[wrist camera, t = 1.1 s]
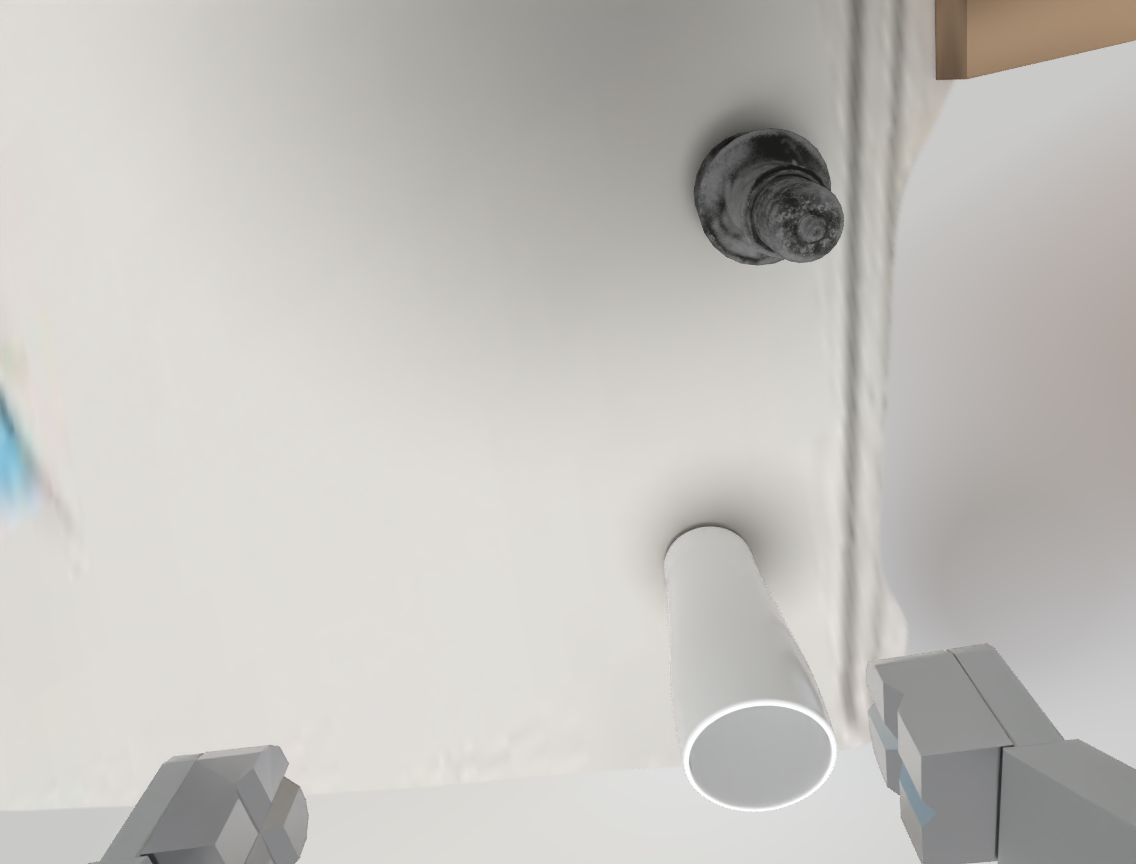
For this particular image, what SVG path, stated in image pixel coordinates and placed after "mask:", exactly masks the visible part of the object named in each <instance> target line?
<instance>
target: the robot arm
mask: <svg viewBox="0 0 1136 864" xmlns="http://www.w3.org/2000/svg"><path fill="white" fill-rule="evenodd" d="M866 685H867V687H868V689H869V691H870V694H871V696H872V698H873V700H874V702H875V703H874V704H873V705H872V706H871V708H870V709H869V710H868V718H869V730H870V735H871V740H872V745H873V749H874V753H875V756H876V759H877V762H878V765H879V768H880V770H881V773H882V775H883V778H884V780H885V782H886V785H887V787H888V788H890V789H891V790H893V791H894V792H896V793H897V794H898V795H900V806H901V807H900V808H901V819H902V821H903V823H904V826H905V828H906V830H907V832H908V835H909V837H910V839H911V841H912V843H913V846H914V848H915V850H916V852H917V855H918V857H919V859H920V861H921V863H922V864H966V863H979V862H991V861H998V864H1136V769H1134V768H1132V767H1130V766H1128V765H1126V764H1124V763H1123V762H1121V761H1119V760H1117V759H1115V758H1113V757H1111V756H1109V755H1107V754H1106V753H1104V752H1102V751H1100V750H1098V749H1096V748H1094V747H1092V746H1090V745H1088V744H1087V743H1085V742H1083V741H1081V740H1079V739H1075V740H1064V738H1063V737H1062V736H1061V734H1060V733H1059V732H1058V731H1057V729H1056V728H1055V726H1054V725H1053V724H1052V722H1051V721H1050V720H1049V719H1048V717H1047V716H1046V715H1045V713H1044V712H1043V711H1042V709H1041V708H1040V707H1039V705H1038V704H1037V703H1036V701H1035V700H1034V699H1033V697H1032V696H1031V695H1030V694H1029V692H1028V691H1027V690H1026V688H1025V687H1024V686H1023V684H1022V683H1021V682H1020V680H1019V679H1018V678H1017V676H1016V675H1015V674H1014V673H1013V671H1012V670H1011V669H1010V667H1009V666H1008V665H1007V663H1006V662H1005V661H1004V660H1003V658H1002V657H1001V655H1000V654H999V653H998V651H997V650H996V649H995V648H994V647H992V646H991V645H989V644H987V643H986V644H979V645H973V646H966V647H960V648H953V649H947V650H946V651H936V652H929V653H922V654H915V655H909V656H902V657H895V658H888V659H882V660H875V661H868V663H867V667H866ZM288 765H289V763H288V761H287V759H286V757H285V756H284V754H283V752H282V750H281V748H280V747H279V746H273V745H265V746H257V747H248V748H239V749H230V750H221V751H212V752H206V753H202V754H193V755H183V756H174V757H172V758H171V759H169V760H168V761H166V762H165V763H163V764H162V766H161V767H160V769H159V771H158V772H157V774H156V775H155V777H154V778H153V780H152V781H151V783H150V785H149V786H148V788H147V789H146V791H145V792H144V794H143V795H142V797H141V798H140V800H139V802H138V803H137V805H136V806H135V808H134V810H133V811H132V812H131V814H130V816H129V817H128V819H127V820H126V822H125V824H124V825H123V826H122V828H121V830H120V831H119V833H118V834H117V836H116V837H115V839H114V840H113V842H112V844H111V845H110V847H109V848H108V850H107V851H106V853H105V854H104V856H103V857H102V859H101V861H100V862H94V863H89V864H295V863H296V862H297V861H298V859H299V858H300V855H301V852H302V850H303V847H304V844H305V841H306V838H307V826H308V811H307V805H306V799H305V797H304V795H303V792H302V790H301V788H300V786H298V785H297V784H295V783H294V782H292V781H291V780H289V779H287V778H286V777H284V775H285V772H286V770H287V767H288Z"/></svg>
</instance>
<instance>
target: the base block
mask: <svg viewBox="0 0 1136 864" xmlns="http://www.w3.org/2000/svg"><path fill="white" fill-rule="evenodd" d="M935 18H936V80H950V79H970V78H974V77H978V76H982V75H987V74H991V73H995V72H1000V71H1004V70H1009V69H1013V68H1017V67H1022V66H1026V65H1030V64H1035V63H1039V62H1043V61H1048V60H1052V59H1056V58H1061V57H1065V56H1069V55H1074V54H1078V53H1082V52H1087V51H1091V50H1096V49H1100V48H1104V47H1108V46H1113V45H1117V44H1122V43H1126V42H1130V41H1134V40H1136V0H935Z"/></svg>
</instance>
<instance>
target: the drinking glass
mask: <svg viewBox="0 0 1136 864" xmlns="http://www.w3.org/2000/svg"><path fill="white" fill-rule="evenodd" d="M664 575H665V581H666V587H667V607H668V633H669V664H670V687H671V699H672V709H673V716H674V723H675V729H676V735H677V740H678V745H679V749H680V754H681V758H682V763H683V768H684V772H685V774H686V777H687V779H688V781H689V782H690V784H691V785H692V786H693V788H694V789H695V790H696V791H697V792H698V793H699V794H700V795H702V796H703V797H704V798H706V799H708V800H709V801H711V802H713V803H715V804H717V805H720V806H722V807H726V808H729V809H733V810H739V811H749V812H758V811H769V810H775V809H779V808H783V807H786V806H789V805H792V804H794V803H796V802H799V801H801V800H802V799H804V798H806V797H808V796H809V795H811V794H812V793H813V792H815V791H816V790H817V789H818V788H819V787H821V786H822V784H823V783H824V782H825V781H826V780H827V778H828V777H829V776H830V774H831V772H832V770H833V768H834V766H835V763H836V759H837V741H836V737H835V734H834V731H833V728H832V725H831V722H830V719H829V716H828V713H827V710H826V707H825V704H824V701H823V699H822V696H821V693H820V691H819V688H818V686H817V683H816V681H815V679H814V676H813V674H812V672H811V669H810V667H809V665H808V663H807V661H806V659H805V657H804V655H803V653H802V651H801V649H800V647H799V645H798V644H797V642H796V640H795V638H794V636H793V634H792V632H791V630H790V629H789V627H788V625H787V623H786V621H785V619H784V617H783V616H782V614H781V612H780V610H779V608H778V606H777V604H776V602H775V601H774V599H773V597H772V595H771V593H770V591H769V589H768V587H767V585H766V583H765V582H764V580H763V578H762V576H761V574H760V572H759V570H758V568H757V566H756V563H755V561H754V558H753V555H752V553H751V551H750V549H749V547H748V545H747V544H746V542H745V541H744V540H743V539H742V538H741V537H740V536H738V535H737V534H736V533H734V532H732V531H730V530H728V529H725V528H721V527H713V526H707V527H700V528H696V529H693V530H690V531H688V532H686V533H684V534H683V535H681V536H680V537H679V538H677V539H676V540H675V541H674V542H673V544H672V545H671V546H670V548H669V550H668V551H667V554H666V557H665V561H664Z"/></svg>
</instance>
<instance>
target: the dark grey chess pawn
mask: <svg viewBox="0 0 1136 864" xmlns="http://www.w3.org/2000/svg"><path fill="white" fill-rule="evenodd" d="M694 197H695V206H696V209H697V212H698V215H699V218H700V221H701V224H702V227H703V230H704V233H705V234H706V236H707V237H708V239H709V240H710V242H711V243H712V245H713V246H714V247H715V248H716V249H717V250H719V251H720V252H721V253H722V254H724V255H725V256H726V257H728V258H730V259H733V260H735V261H737V262H739V263H743V264H750V265H765V264H773V263H776V262H779V261H781V260H784V259H786V260H789V261H792V262H798V263H804V262H812V261H814V260H817V259H820V258H822V257H823V256H825V255H826V254H827V253H829V252H830V251H831V250H832V249H833V247H834V246H835V245H836V244H837V242H838V240H839V238H840V236H841V234H842V230H843V226H844V215H843V211H842V207H841V204H840V203H839V201H838V199H837V198H836V196H835V195H834V194H833V193H832V192H831V181H830V177H829V173H828V169H827V165H826V163H825V161H824V160H823V158H822V156H821V155H820V153H819V151H818V150H817V149H816V148H815V147H814V146H813V145H812V144H811V143H810V142H808V141H807V140H806V139H805V138H803V137H801V136H799V135H797V134H795V133H793V132H790V131H787V130H780V129H772V128H770V129H763V130H756V131H752V132H747V133H740V134H737V135H735V136H732V137H730V138H728V139H725V140H724V141H723V142H721V143H720V144H719V145H717V146H716V147H715V148H713V149H712V151H711V152H710V153H709V154H708V156H707V157H706V158H705V160H704V161H703V163H702V165H701V167H700V169H699V171H698V174H697V177H696V182H695V187H694Z"/></svg>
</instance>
